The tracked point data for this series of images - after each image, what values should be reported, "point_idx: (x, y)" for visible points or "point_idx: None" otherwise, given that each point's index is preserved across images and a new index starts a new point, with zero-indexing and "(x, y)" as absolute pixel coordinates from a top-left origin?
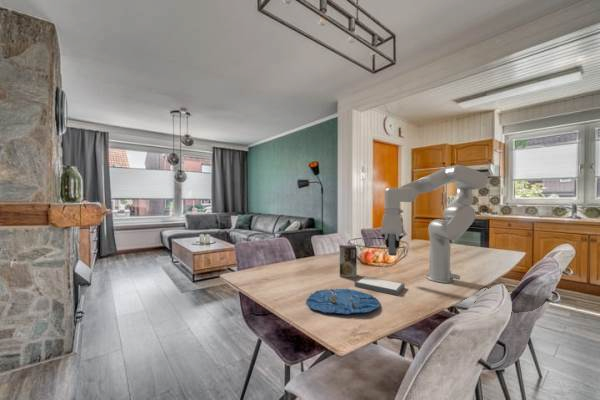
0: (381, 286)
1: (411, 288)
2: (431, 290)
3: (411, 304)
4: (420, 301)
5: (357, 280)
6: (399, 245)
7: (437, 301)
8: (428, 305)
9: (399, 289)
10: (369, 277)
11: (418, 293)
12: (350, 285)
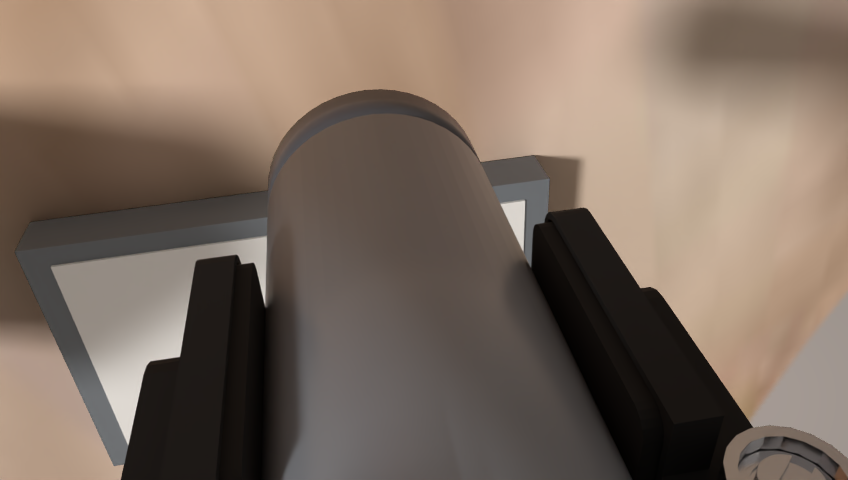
0: None
1: (602, 115)
2: (802, 28)
3: None
4: None
5: (92, 416)
6: (659, 302)
7: (811, 269)
8: (740, 370)
9: None
10: (114, 257)
11: (675, 206)
12: (73, 438)
